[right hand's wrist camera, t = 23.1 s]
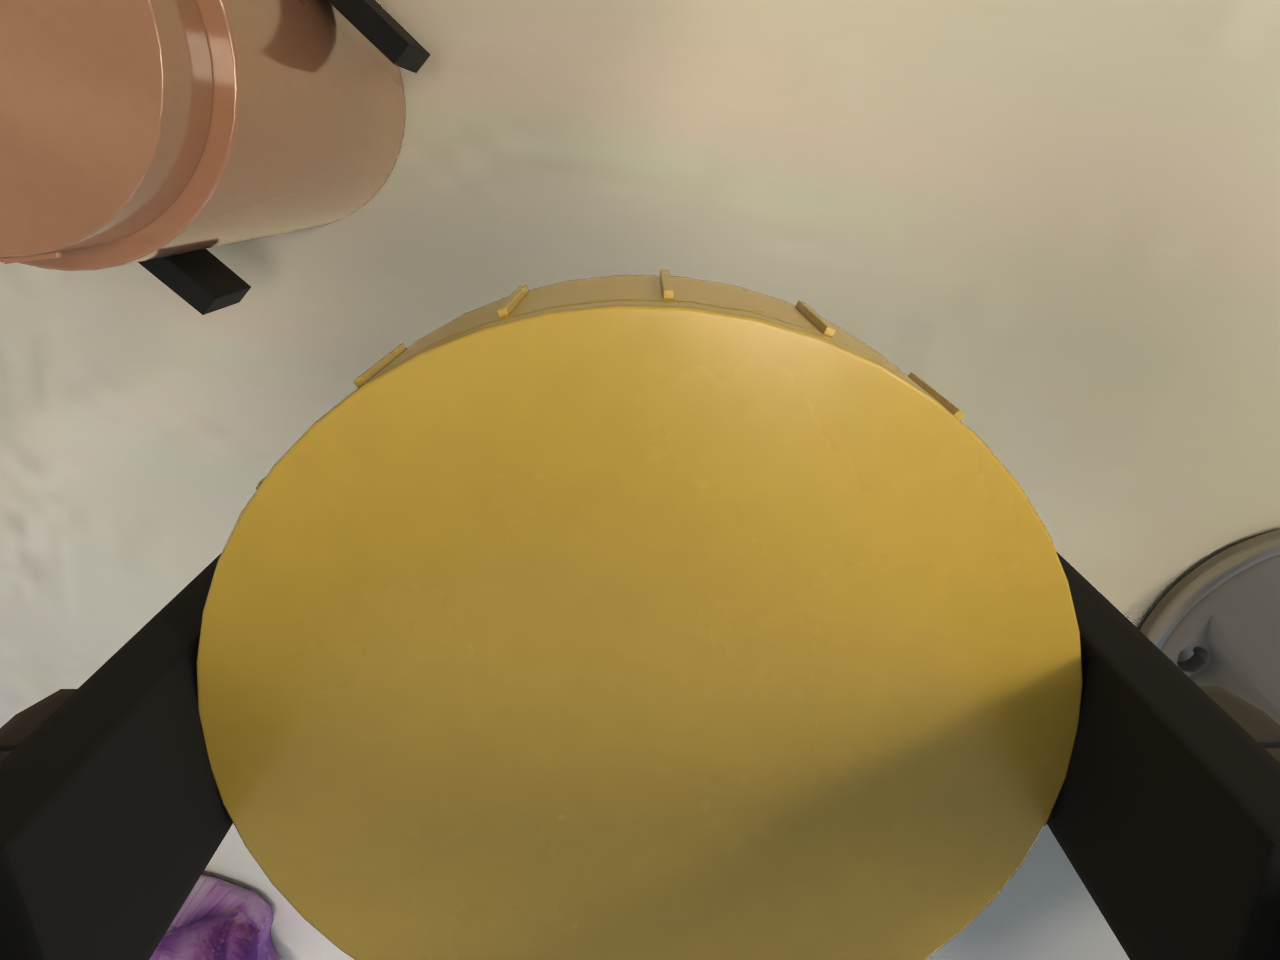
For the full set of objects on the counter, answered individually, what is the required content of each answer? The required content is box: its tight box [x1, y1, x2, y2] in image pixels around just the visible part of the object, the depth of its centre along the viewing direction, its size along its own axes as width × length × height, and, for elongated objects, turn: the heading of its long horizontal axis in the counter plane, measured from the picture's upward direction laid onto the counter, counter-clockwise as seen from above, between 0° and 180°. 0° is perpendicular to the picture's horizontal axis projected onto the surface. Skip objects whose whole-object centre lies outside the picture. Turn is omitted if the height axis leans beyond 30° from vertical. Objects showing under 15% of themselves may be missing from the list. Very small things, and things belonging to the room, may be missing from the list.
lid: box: [197, 270, 1083, 960], centre depth 11 cm, size 11×11×2 cm
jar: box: [0, 0, 405, 271], centre depth 25 cm, size 10×10×17 cm
